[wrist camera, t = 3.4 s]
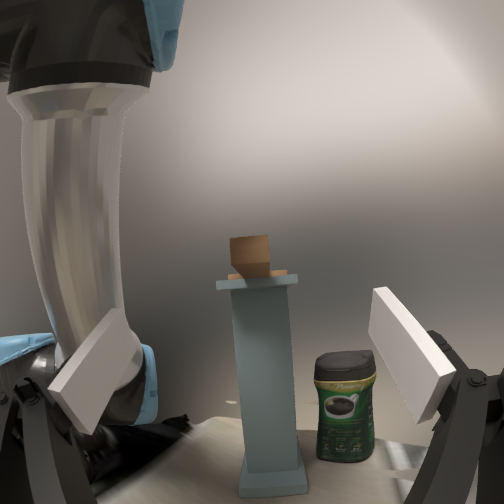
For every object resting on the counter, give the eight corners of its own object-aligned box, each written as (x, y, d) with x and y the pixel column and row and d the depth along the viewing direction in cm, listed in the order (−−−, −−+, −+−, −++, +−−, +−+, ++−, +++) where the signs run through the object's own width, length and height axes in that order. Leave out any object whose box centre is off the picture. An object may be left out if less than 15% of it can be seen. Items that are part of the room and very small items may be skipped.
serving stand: (239, 497, 24) (216, 280, 30) (248, 447, 40) (233, 289, 46) (307, 493, 24) (297, 273, 30) (297, 443, 40) (287, 284, 46)
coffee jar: (377, 441, 34) (379, 344, 38) (367, 465, 28) (372, 355, 31) (326, 440, 39) (323, 348, 43) (309, 461, 33) (305, 358, 36)
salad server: (199, 267, 20) (198, 241, 20) (237, 288, 46) (237, 277, 46) (302, 258, 20) (299, 232, 20) (282, 284, 46) (281, 273, 46)
